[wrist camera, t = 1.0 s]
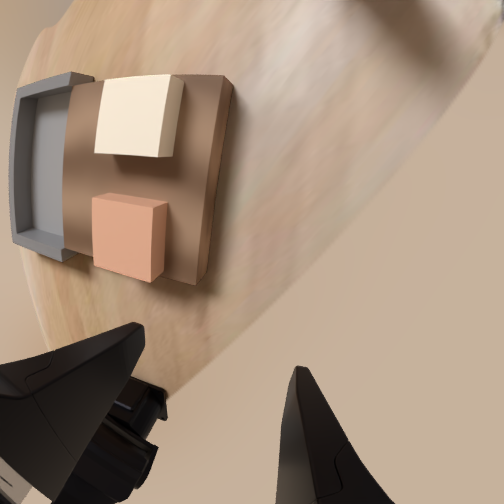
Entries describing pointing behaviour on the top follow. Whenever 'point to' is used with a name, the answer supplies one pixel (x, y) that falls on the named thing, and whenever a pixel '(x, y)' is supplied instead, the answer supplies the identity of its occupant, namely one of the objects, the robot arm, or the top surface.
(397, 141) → the top surface
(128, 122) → the cream tile
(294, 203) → the top surface
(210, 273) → the top surface
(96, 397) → the robot arm
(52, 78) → the box
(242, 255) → the top surface
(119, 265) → the terracotta tile
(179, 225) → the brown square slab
